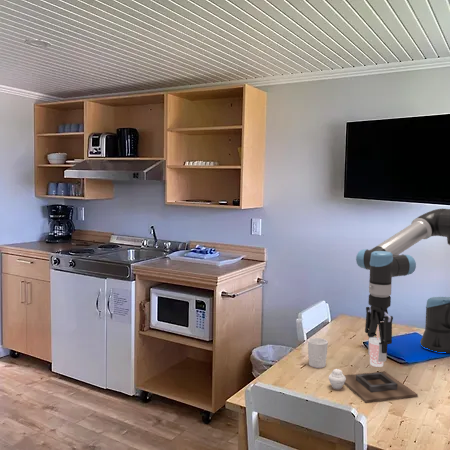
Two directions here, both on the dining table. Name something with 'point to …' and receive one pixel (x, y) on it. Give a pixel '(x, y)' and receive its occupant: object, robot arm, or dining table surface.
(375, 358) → the beverage cup
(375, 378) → the cup holder
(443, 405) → the dining table surface
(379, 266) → the robot arm
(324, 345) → the white cup
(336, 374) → the white lidded jar
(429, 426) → the dining table surface
